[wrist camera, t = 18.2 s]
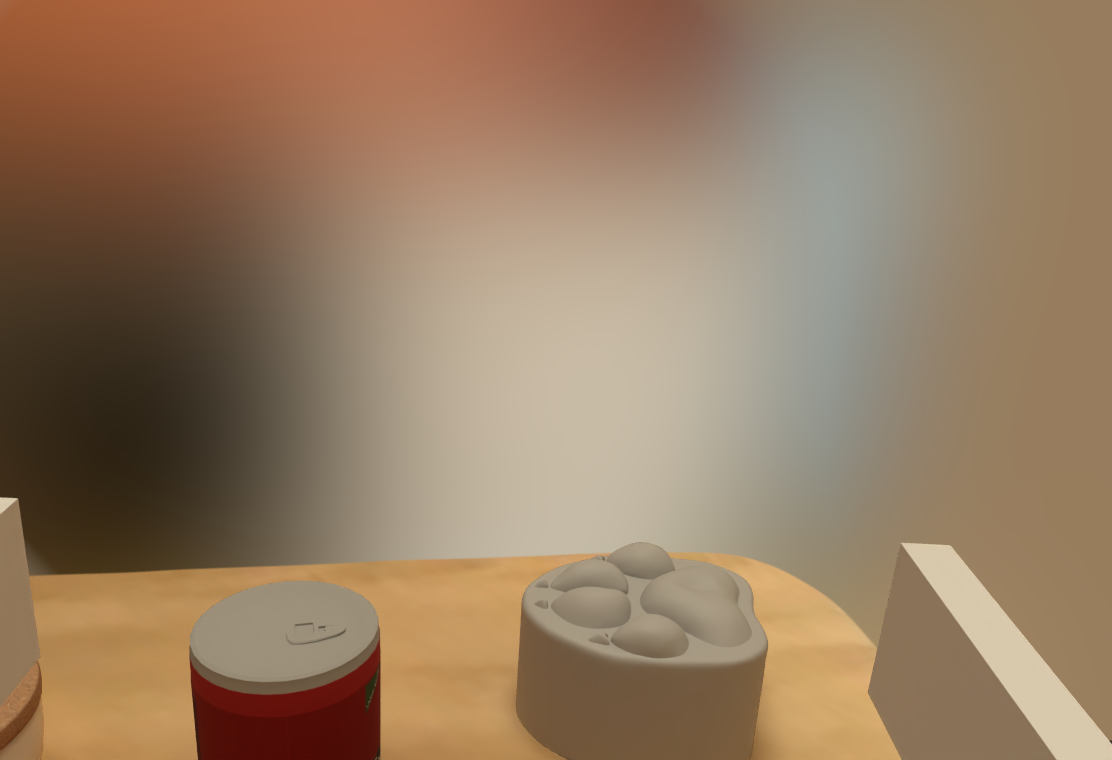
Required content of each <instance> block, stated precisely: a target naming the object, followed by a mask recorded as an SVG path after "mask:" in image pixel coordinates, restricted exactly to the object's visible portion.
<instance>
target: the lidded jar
mask: <svg viewBox="0 0 1112 760" xmlns="http://www.w3.org/2000/svg"><path fill="white" fill-rule="evenodd" d="M41 694H42V678H41V671H40V666H39V663H38V660H37V662H36V663H35V664H34V665H33V667H32V668H31V669H30V670H29V672H28V673H27V674H26V675H25V677H24V678H23V679H22V680H21V682H20V683H19V684H18V685H17V687H16V688H15V689H14V690H13V692H12V693H11V694H10V695H9V697H8V698H7V699H6V700H5V702H4V703H3V704H2V705H1V707H0V760H41V758H42V752H43V738H44V717H43V706H42V698H41Z"/></svg>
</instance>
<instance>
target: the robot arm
mask: <svg viewBox="0 0 1112 760" xmlns="http://www.w3.org/2000/svg"><path fill="white" fill-rule="evenodd" d="M39 658H40V650H39V643H38V636H37V629H36V622H35V615H34V608H33V601H32V594H31V587H30V580H29V573H28V566H27V559H26V552H25V546H24V538H23V531H22V524H21V518H20V510H19V504H18V499H17V498H16V499H15V498H0V707H1V705H2V704H3V703H4V702H5V700H6V699H7V698H8V697H9V695H10V694H11V693H12V692H13V690H14V689H15V688H16V687H17V685H18V684H19V683H20V682H21V680H22V679H23V678H24V677H25V675H26V674H27V673H28V672H29V670H30V669H31V668H32V667H33V665H34V664H35V663H36V662H37V660H38V659H39ZM868 694H869V696H870V698H871V700H872V702H873V704H874V706H875V708H876V710H877V712H878V713H879V715H880V717H881V719H882V721H883V723H884V725H885V727H886V729H887V731H888V733H889V735H890V737H891V739H892V741H893V743H894V745H895V747H896V749H897V751H898V753H899V755H900V757H901V759H902V760H1112V741H1109V740H1108V739H1107V738H1106V737H1105V735H1104V734H1103V733H1102V732H1101V730H1100V729H1099V728H1098V727H1097V726H1096V724H1095V723H1094V722H1093V721H1092V719H1091V718H1090V717H1089V716H1088V714H1087V713H1086V712H1085V711H1084V710H1083V708H1082V707H1081V706H1080V705H1079V703H1078V702H1077V701H1076V700H1075V698H1074V697H1073V696H1072V695H1071V694H1070V692H1069V691H1068V690H1067V689H1066V687H1065V686H1064V685H1063V684H1062V683H1061V681H1060V680H1059V679H1058V678H1057V676H1056V675H1055V674H1054V673H1053V671H1052V670H1051V669H1050V668H1049V666H1048V665H1047V664H1046V663H1045V662H1044V660H1043V659H1042V658H1041V657H1040V655H1039V654H1038V653H1037V652H1036V651H1035V649H1034V648H1033V647H1032V646H1031V644H1030V643H1029V642H1028V641H1027V639H1026V638H1025V637H1024V636H1023V634H1022V633H1021V632H1020V631H1019V630H1018V628H1017V627H1016V626H1015V625H1014V623H1013V622H1012V621H1011V620H1010V618H1009V617H1008V616H1007V615H1006V614H1005V613H1004V611H1003V610H1002V609H1001V607H1000V606H999V605H998V604H997V603H996V601H995V600H994V599H993V598H992V596H991V595H990V594H989V593H988V591H987V590H986V589H985V588H984V586H983V585H982V584H981V583H980V582H979V580H978V579H977V578H976V577H975V575H974V574H973V573H972V572H971V570H970V569H969V568H968V567H967V566H966V564H965V563H964V562H963V561H962V559H961V558H960V557H959V556H958V555H957V553H956V552H955V551H954V550H953V548H952V547H951V546H950V545H932V544H931V545H930V544H912V543H901V544H900V549H899V553H898V558H897V562H896V567H895V571H894V576H893V580H892V585H891V589H890V594H889V599H888V604H887V608H886V612H885V617H884V621H883V626H882V630H881V635H880V639H879V644H878V648H877V653H876V658H875V662H874V667H873V671H872V676H871V680H870V685H869V689H868Z"/></svg>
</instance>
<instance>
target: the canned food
mask: <svg viewBox="0 0 1112 760" xmlns="http://www.w3.org/2000/svg"><path fill="white" fill-rule="evenodd" d="M190 669H191V687H192V698H193V709H194V720H195V731H196V742H197V753H198V760H380V628H379V625H378V616H377V613H376V610H375V608H374V607H373V606H372V604H371V603H370V602H369V601H368V600H367V599H365V598H364V597H363V596H362V595H360V594H358V593H356V592H354V591H352V590H350V589H348V588H345V587H342V586H339V585H335V584H330V583H324V582H316V581H286V582H278V583H270V584H266V585H262V586H257V587H253V588H250V589H247V590H244V591H241V592H238V593H236V594H234V595H232V596H229V597H227V598H225V599H223V600H222V601H220V602H218V603H217V604H215V605H214V606H212V607H211V608H210V609H208V610H207V611H206V612H205V613H204V614H203V615H202V616H201V617H200V618H199V620H198V621H197V622H196V624H195V625H194V627H193V630H192V632H191V635H190Z"/></svg>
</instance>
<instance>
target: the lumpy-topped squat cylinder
mask: <svg viewBox="0 0 1112 760" xmlns="http://www.w3.org/2000/svg"><path fill="white" fill-rule="evenodd" d="M767 650H768V640H767V636H766V634H765V631H764V629H763V628H762V626H761V624H760V623H759V621H758V620H757V618H756V616H755V613H754V609H753V592H752V589H751V587H750V585H749V584H748V582H747V581H746V580H745V579H744V578H742V577H741V576H740V575H738V574H736V573H734V572H732V571H730V570H727V569H725V568H723V567H720V566H717V565H714V564H710V563H706V562H701V561H693V560H684V559H674V558H670V557H669V555H668V554H667V552H666V551H664V550H663V549H662V548H661V547H659V546H657V545H654V544H650V543H643V542H639V543H632V544H629V545H627V546H624V547H622V548H620V549H618V550H616V551H615V552H613V553H612V554H611V555H609V556H604V557H603V556H595V557H594V558H592V559H587V560H582V561H579V562H575V563H571V564H567V565H564V566H561V567H558V568H556V569H553V570H551V571H549V572H547V573H546V574H544V575H542V576H541V577H539V578H538V579H536V580H535V581H533V582H532V583H531V584H530V585H529V586H528V587H527V589H526V590H525V592H524V595H523V598H522V609H521V626H520V644H519V659H518V677H517V695H516V712H517V715H518V718H519V720H520V721H521V723H522V724H523V726H524V727H525V728H526V729H527V731H528V732H529V733H530V734H531V735H532V736H533V737H534V738H535V739H536V740H537V741H539V742H540V743H541V744H542V745H544V746H545V747H546V748H548V749H550V750H551V751H553V752H555V753H557V754H559V755H560V756H562V757H564V758H566V759H568V760H750V757H751V753H752V747H753V740H754V734H755V728H756V721H757V715H758V709H759V702H760V696H761V690H762V683H763V677H764V668H765V660H766V655H767Z"/></svg>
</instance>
